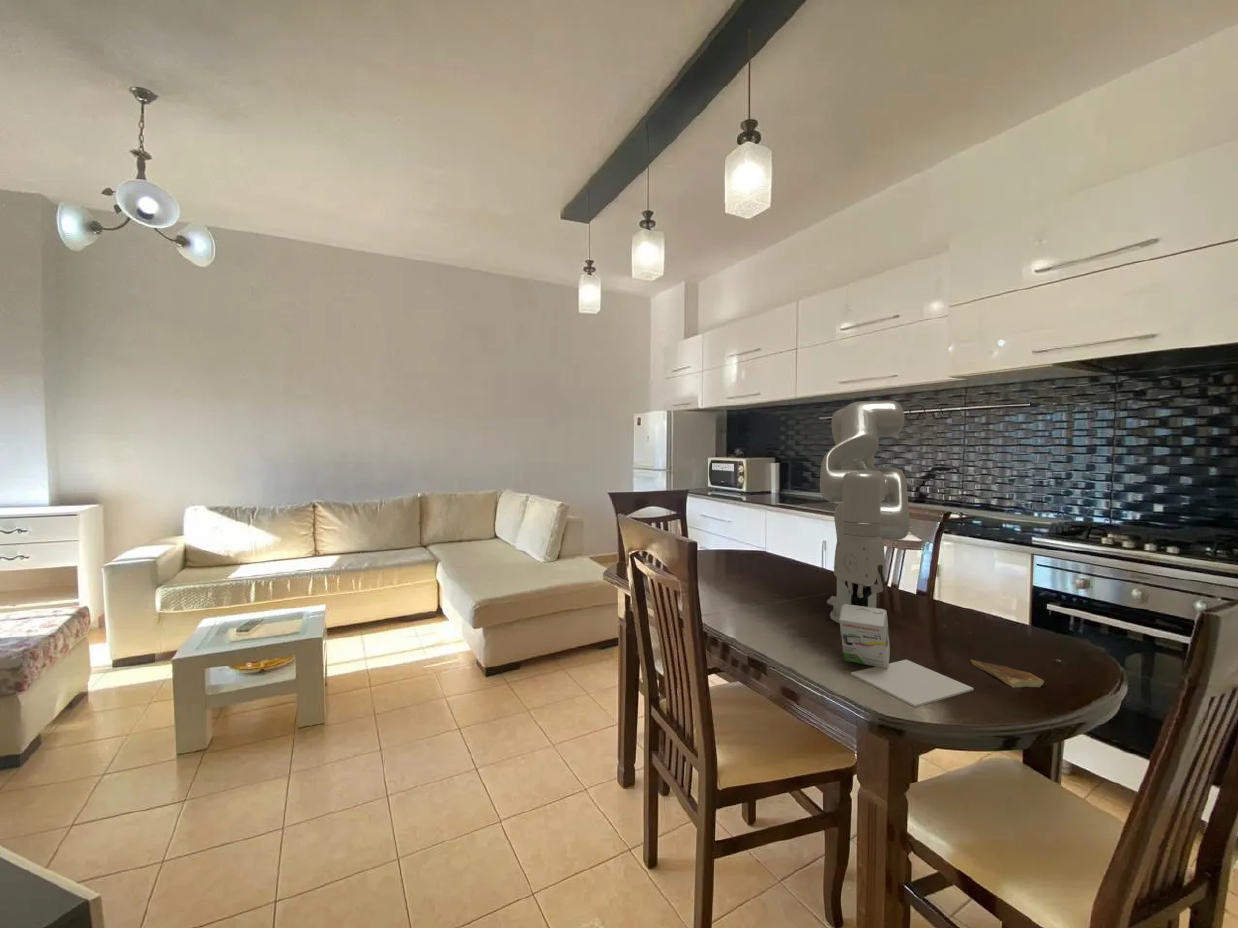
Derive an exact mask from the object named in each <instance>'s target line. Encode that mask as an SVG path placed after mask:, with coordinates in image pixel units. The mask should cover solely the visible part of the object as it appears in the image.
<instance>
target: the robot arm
mask: <svg viewBox="0 0 1238 928" xmlns="http://www.w3.org/2000/svg"><path fill="white" fill-rule="evenodd" d="M903 409H904V408H903V407H902V405H901V404H900V403H899V402H897V401H896V400H868V401H867V400H865V401H855V402H852V403H850V404H848V405H846V406H845V407H844V408H841V409H838V410H836V411H835V412H834V413H833V414H832V417H831V432H832V438H833V441H834V444H835V445H834V446H833V447H832V448H830V449H829V450H828V451H827V452H826V454H825V455H824V457H823V459H822V461H821V464H820V473H819V474H820V477H819V492H820V495H821V496H822V498H823V499H825V500H826V501H828V502H835V503H839V504H837V506H835V509H834V513H833V514H834V515H833V519H834V527H835V533H836V544H835V549H834V563H833V573H834V576H835V577H836V596H834V595H831V596H830V598H828V599H827V601H826V603H827V604H828V605H830V606H833V609H832V610H831V611H830V613H829V616H830V620H832V621H833V622H835V623H837V624H840V621H839V617H840V611H841V607H842V605H844V604H849V605H857V606H864V607H870V608H877V594H878V593H882V592H883V591H884V587H883V584H885V581H886V571H887V570H886V566H887V565H886V555H885V554H886V553H885V547H884V541H883V540H891V541H892V540H896V541H897V540H903V539H905V538H906V537H907V536H908V534H909V533H910V527H911V523H910V509H909V508H910V507H909V497H908V496H909V495H908V494H909V493H908V483H907V478H906V475H905V473H904V472H903V471H902V470H901V469H899V468H897V467H889V466H888V467H887V466H886V467H885V466H884V467H883V466H882V467H879V466H875V454H876V453H877V451H878V449H879V446H880V443H879V442H880V440H879V438H880V437H882V438H884V437H886V438H887V437H889V438H891V437H895V436H897V435H898V434H900V433H901V431H903V428H904V425H905V413H904V410H903Z"/></svg>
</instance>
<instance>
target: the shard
mask: <svg viewBox="0 0 1238 928" xmlns="http://www.w3.org/2000/svg"><path fill="white" fill-rule="evenodd" d="M970 662H971V664H972V665H973V666H974V667H976V668H978V669H980V670H982V671H983V672H985V673H987V674H990V675H991V676H993V677H995V678H996V679H997V680H999V681H1001V682H1003V683H1004V684H1006V685H1008V686H1010V687H1011V688H1027V687H1028V688H1041V686H1043V684H1044V683H1045V681H1044V679H1042V678H1040V677H1038V676H1036V675H1034V674H1032V672H1028V671H1025V670H1022V669H1018V668H1017V669H1016V668H1014V667H1010V666H1006V665H1002V664H997V663H991V662H987V661H983V660H978V659H973V658H970Z"/></svg>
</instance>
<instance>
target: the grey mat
mask: <svg viewBox="0 0 1238 928" xmlns="http://www.w3.org/2000/svg"><path fill="white" fill-rule="evenodd" d="M850 676H852V677H854V678H856V679H859V680H860V681H862V682H864V683H866V684H868V685H870V686H872V687H874V688H877V689H878V690H880V691H882V692H883V693H886V694H888V695H890V696H892V697H894V698H896V699H898V700H900V701H901V702H903V703H905V704H908V705H910V706H912V707H914V708H918V707H921V706H924V705H929V704H932V703H935V702H938V701H941V700H945V699H948V698H952V697H956V696H959V695H963V694H966V693H970V692H972V691H974V690H975V689H974V687H972V686H970V685H967V684H965V683H963V682H960V681H959V680H956V679H953V678H950V677H948V676H947V675H944V674H943V673H942V674H941V673H939V672H936V671H934V670H932V669H929V668H928V667H925V666H922V665H920V664H917V663H915V662H913V661H911V660H909V659H903V660H899V661H894V662H890V663H889V665H888V668H882V667H877V666H872V667H868V668H864V669H860V670H856V671H853V672H850Z"/></svg>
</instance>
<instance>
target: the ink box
mask: <svg viewBox="0 0 1238 928" xmlns="http://www.w3.org/2000/svg"><path fill="white" fill-rule="evenodd" d="M887 613H888V612H887V610H886V609H884V608H878V607H876V608H870V607H864V606H857V605H849V604H844V605H842V607H841V611H840V617H839V621H840V623H839V627H840V638H841V645H842V655H843V661H846V662H850V663H852V662H853V663H856V664H860V665H861V664H862V665H867V666H872V667H882V668H888V665H889V662H890V656H891V654H890V653H891V650H890V649H891V648H890V637H889V623H888V622H889V620H888V614H887Z"/></svg>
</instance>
